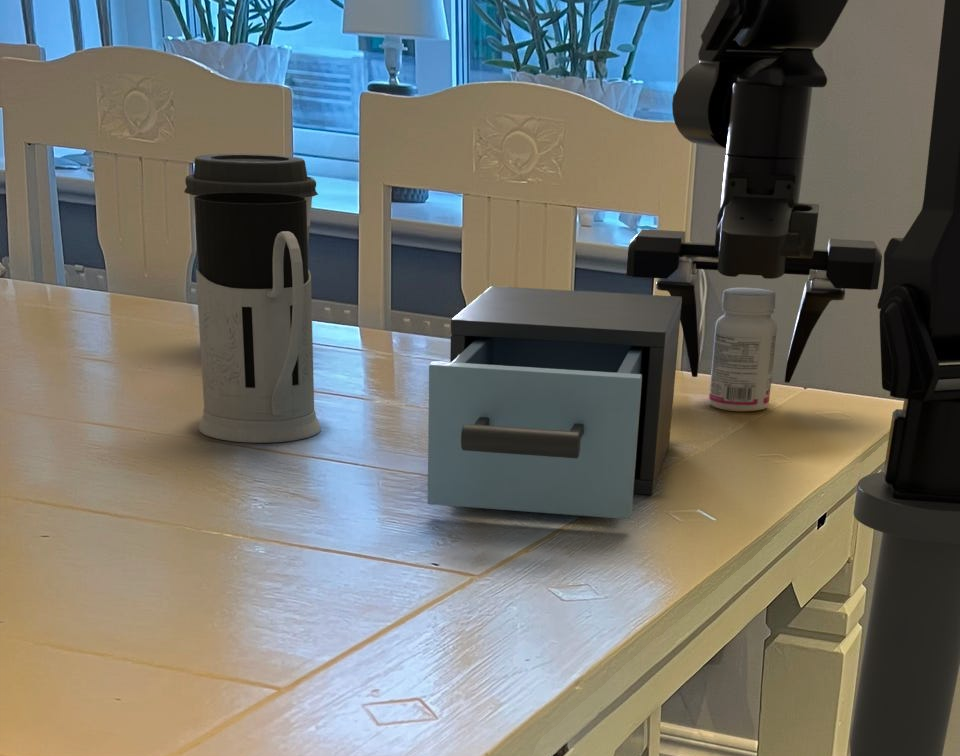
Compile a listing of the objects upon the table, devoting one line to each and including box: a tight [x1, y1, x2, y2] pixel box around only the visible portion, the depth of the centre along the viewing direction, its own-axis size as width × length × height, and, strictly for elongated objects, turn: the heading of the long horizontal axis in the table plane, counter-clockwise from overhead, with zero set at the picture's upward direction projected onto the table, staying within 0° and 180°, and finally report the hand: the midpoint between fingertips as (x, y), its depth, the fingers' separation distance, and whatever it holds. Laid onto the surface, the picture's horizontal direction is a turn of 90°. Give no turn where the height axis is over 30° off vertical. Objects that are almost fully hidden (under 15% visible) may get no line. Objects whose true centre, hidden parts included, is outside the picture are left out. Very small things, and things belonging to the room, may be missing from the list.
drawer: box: [427, 337, 646, 520], centre depth 96 cm, size 18×12×8 cm, turn 170°
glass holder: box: [194, 192, 322, 444], centre depth 109 cm, size 9×14×15 cm, turn 24°
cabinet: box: [449, 285, 682, 496], centre depth 106 cm, size 15×13×10 cm
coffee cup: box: [184, 153, 319, 243], centre depth 138 cm, size 11×11×15 cm
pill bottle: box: [708, 287, 778, 412], centre depth 124 cm, size 5×5×8 cm
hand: (740, 379), depth 125 cm, fingers open, 7 cm apart
